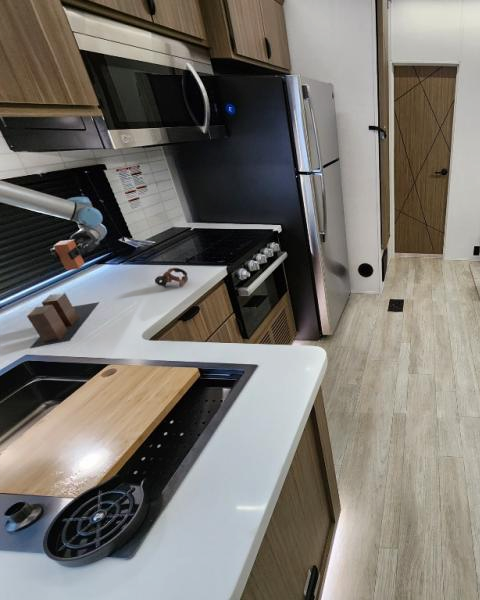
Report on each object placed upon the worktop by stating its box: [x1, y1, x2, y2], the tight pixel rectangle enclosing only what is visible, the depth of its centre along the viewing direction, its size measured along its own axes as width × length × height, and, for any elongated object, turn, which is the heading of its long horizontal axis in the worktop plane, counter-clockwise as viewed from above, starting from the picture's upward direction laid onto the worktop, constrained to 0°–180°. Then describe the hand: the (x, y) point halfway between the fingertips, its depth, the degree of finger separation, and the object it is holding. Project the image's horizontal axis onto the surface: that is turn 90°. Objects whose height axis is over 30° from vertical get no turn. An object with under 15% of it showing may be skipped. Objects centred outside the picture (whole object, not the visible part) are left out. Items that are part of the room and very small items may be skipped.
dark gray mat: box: [29, 301, 100, 349], centre depth 115 cm, size 28×10×1 cm, turn 23°
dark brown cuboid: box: [26, 305, 68, 343], centre depth 105 cm, size 4×6×10 cm
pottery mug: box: [154, 267, 189, 288], centre depth 140 cm, size 12×10×8 cm
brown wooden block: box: [41, 292, 79, 327], centre depth 113 cm, size 4×6×10 cm
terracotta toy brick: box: [53, 239, 85, 271], centre depth 128 cm, size 4×6×10 cm
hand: (62, 257), depth 123 cm, fingers closed on terracotta toy brick, 4 cm apart
